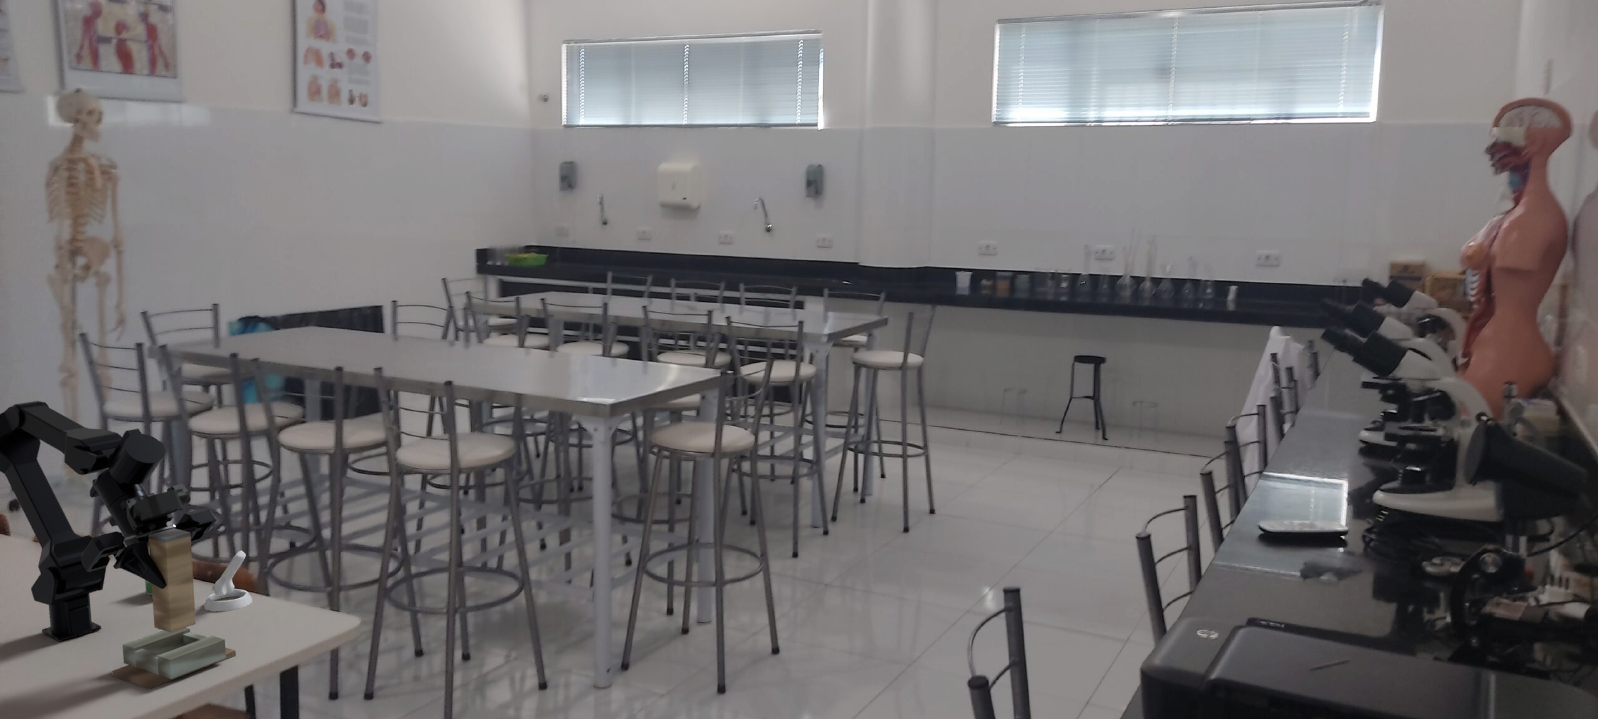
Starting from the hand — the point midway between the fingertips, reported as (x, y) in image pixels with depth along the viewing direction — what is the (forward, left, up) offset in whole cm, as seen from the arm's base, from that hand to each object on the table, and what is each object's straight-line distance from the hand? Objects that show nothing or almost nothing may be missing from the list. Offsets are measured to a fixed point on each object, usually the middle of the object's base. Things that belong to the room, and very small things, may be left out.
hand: (178, 582), depth 172 cm
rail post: (-1, 0, -7) cm, 7 cm away
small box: (-34, +16, -14) cm, 40 cm away
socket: (-1, 0, -13) cm, 13 cm away
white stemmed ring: (-20, +19, -14) cm, 31 cm away
